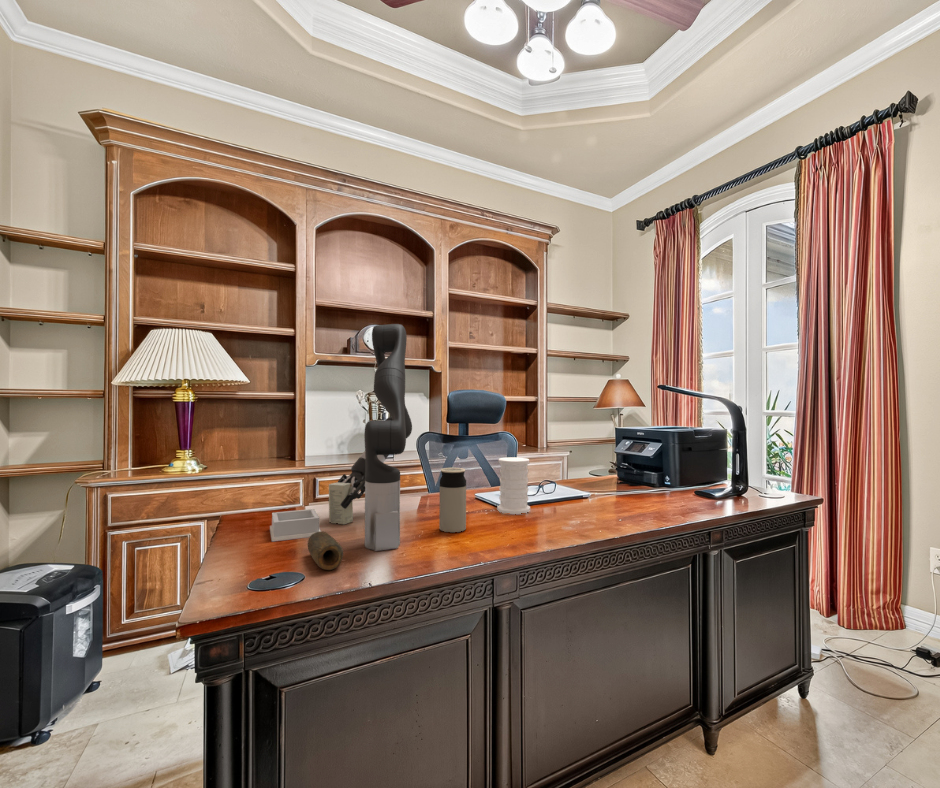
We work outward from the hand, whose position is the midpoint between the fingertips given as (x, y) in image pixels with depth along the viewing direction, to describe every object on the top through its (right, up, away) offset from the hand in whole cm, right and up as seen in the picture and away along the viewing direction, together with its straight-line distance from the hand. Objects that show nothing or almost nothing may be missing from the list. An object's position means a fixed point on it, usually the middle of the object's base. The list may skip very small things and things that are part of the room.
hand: (336, 504), depth 145 cm
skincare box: (+1, -6, +1) cm, 6 cm away
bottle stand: (-9, -6, -10) cm, 15 cm away
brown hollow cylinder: (+7, -6, -35) cm, 36 cm away
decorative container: (+57, -6, +18) cm, 60 cm away
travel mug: (+37, -6, -6) cm, 38 cm away
